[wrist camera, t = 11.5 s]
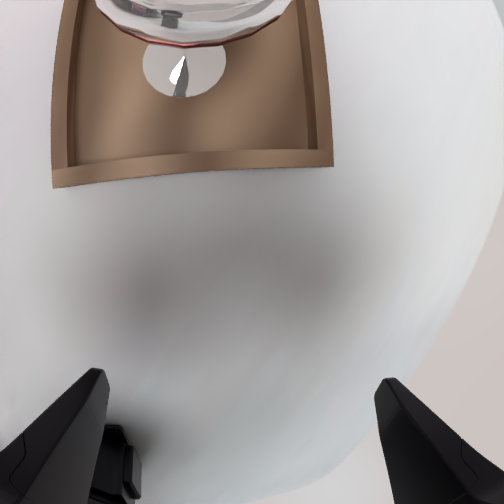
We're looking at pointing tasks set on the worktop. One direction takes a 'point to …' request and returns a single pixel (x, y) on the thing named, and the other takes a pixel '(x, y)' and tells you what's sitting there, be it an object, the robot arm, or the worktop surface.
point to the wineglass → (189, 36)
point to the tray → (187, 103)
